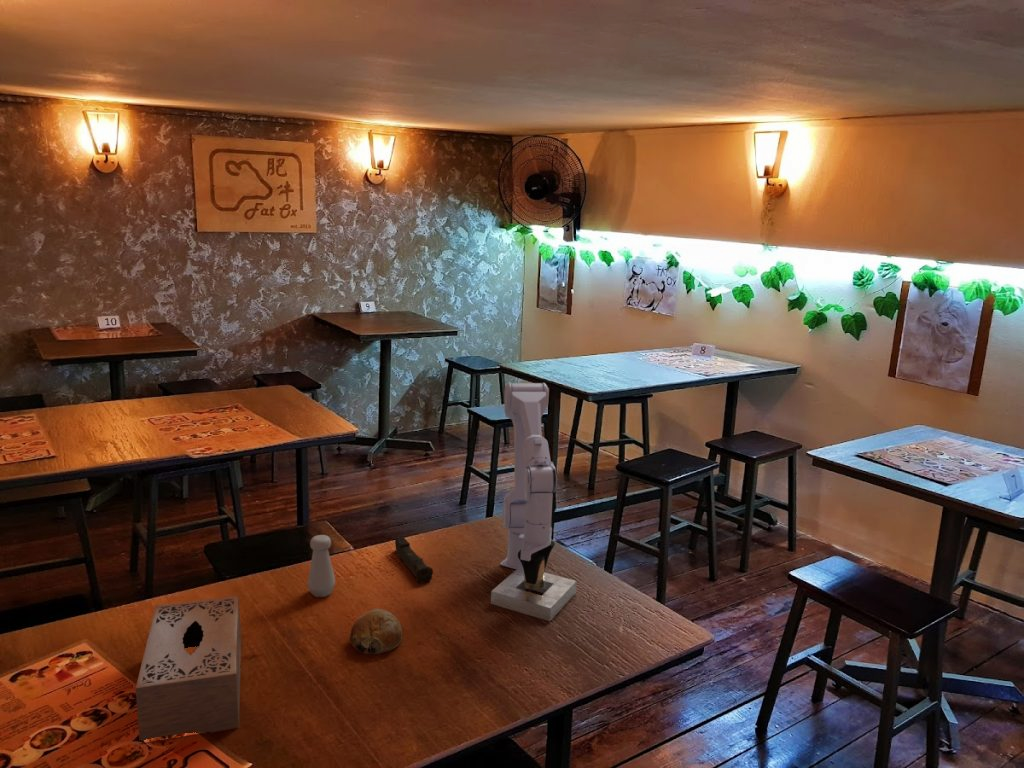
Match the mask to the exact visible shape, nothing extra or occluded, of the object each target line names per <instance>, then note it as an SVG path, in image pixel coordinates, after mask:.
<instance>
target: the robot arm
mask: <svg viewBox="0 0 1024 768" xmlns="http://www.w3.org/2000/svg"><path fill="white" fill-rule="evenodd" d="M503 392H504V394H503V395H504V397H503V399H504V400H503V401H504V414H505V417H506V418H508V419H510V420H511V422H512V425H513V441H514V442H513V444H514V449H513V450H514V452H513V454H514V455H513V456H514V458H513V459H514V488H513V489H511V490H510V491H509V492H508V493H506V494H505V495H504V497H503V502H502V524H503V527H504V528H505V529H506V530H507V529H508V532H507V533H508V534H507V554H506V558H505V559H503V560H502V561H501V562H500V566H503V567H507V568H509V569H510V568H511V569H514V570H516V569H518V568H519V567H520V566H522V567H523V569H524V574H525V579H526V582H527V583H531V584H536V582H537V579H538V574H539V569H540V565H541V563H542V561H543V559H544V572H546V567H547V563H548V560H549V557H550V554H551V553H552V550H553V548H554V547H555V544H556V543H555V541H553V540H552V535H553V534H552V532H553V527H552V517H553V515H552V512H553V495H554V494H553V493H556V490H557V483H558V476H557V470H556V467H555V465H554V461H551V454H550V448H549V447H550V446H549V443H548V442H549V441H548V440H547V439H546V438H545V437H543V435H542V417H543V415H544V414H545V412H546V408H547V406H548V404H549V387H548V385H547V384H546V382H539V383H538V382H529V383H528V382H521V383H520V382H513V383H512V382H510V381H509V382H506V384H505V387H504V391H503ZM515 501H517V502H515ZM519 501H520V502H519Z"/></svg>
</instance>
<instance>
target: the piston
mask: <svg viewBox="0 0 1024 768" xmlns="http://www.w3.org/2000/svg"><path fill="white" fill-rule="evenodd" d="M544 572H545V571H544V559H543V561H542V563H541V565H540V569H539V574H538V579H537V582H536V584H531V583H527V582H526V579H525V574H524V586H525V587H526V588H527V590H530V589H531V591H534V590H538V589H541V588H543V587H544Z"/></svg>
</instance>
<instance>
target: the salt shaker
mask: <svg viewBox="0 0 1024 768" xmlns="http://www.w3.org/2000/svg"><path fill="white" fill-rule="evenodd" d="M309 544H310V545H309V546H310V548H311V550H312V556H311V561H310V567H309V574H308V581H307V587H308V589H309V592H310V593H311V595H312V596H314V597H315V598H325V597H327V596H329V595H331V594H332V592H333V590H334V588H335V584H336V579H335V573H334V569H333V565H332V562H331V557H330V552H329V549H330V548H331V546H332V539H331V538H330V536H328V535H326V534H317V535H314V536H313V537H312V538H311V539H310V543H309Z"/></svg>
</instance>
